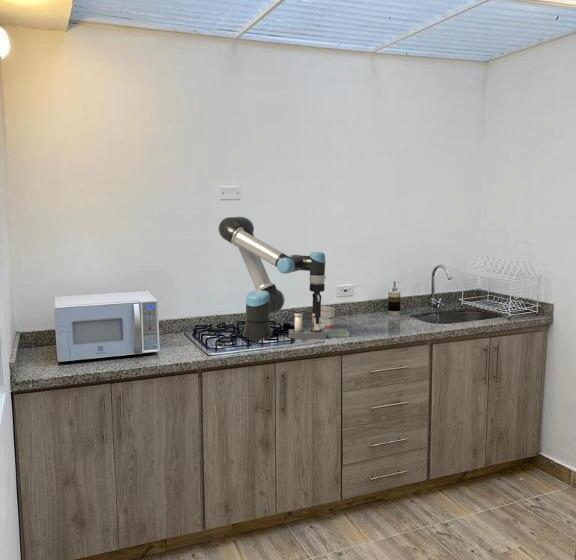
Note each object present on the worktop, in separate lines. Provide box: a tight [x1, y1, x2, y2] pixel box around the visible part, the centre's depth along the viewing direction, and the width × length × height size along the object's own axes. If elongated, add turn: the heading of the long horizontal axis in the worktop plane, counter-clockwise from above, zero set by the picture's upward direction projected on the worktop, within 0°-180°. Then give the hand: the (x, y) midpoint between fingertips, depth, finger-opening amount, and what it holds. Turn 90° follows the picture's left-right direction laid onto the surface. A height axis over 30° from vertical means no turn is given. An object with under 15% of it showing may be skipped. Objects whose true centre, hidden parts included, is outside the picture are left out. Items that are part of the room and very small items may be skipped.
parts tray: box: [324, 329, 351, 338], centre depth 311 cm, size 12×9×2 cm
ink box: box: [320, 305, 336, 329], centre depth 328 cm, size 9×5×12 cm, turn 58°
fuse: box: [294, 312, 304, 332], centre depth 303 cm, size 4×4×12 cm
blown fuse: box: [311, 312, 320, 332], centre depth 304 cm, size 4×4×12 cm
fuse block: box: [288, 328, 327, 340], centre depth 304 cm, size 18×9×4 cm, turn 95°
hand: (316, 328), depth 304 cm, fingers open, 5 cm apart
